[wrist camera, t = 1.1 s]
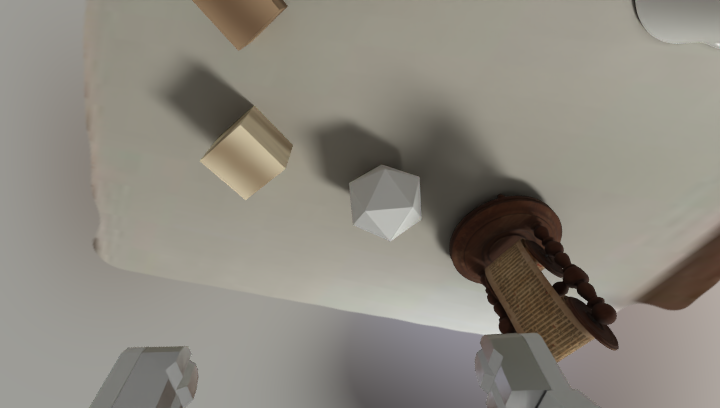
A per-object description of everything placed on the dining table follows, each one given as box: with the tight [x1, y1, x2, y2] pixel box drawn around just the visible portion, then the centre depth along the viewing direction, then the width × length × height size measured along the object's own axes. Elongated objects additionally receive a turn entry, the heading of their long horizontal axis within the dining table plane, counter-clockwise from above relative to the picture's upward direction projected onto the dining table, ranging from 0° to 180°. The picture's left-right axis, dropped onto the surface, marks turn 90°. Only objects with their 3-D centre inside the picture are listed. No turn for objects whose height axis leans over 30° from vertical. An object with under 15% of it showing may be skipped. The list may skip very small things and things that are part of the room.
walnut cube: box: [192, 0, 287, 51], centre depth 30 cm, size 5×5×5 cm
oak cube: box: [200, 106, 293, 200], centre depth 38 cm, size 6×6×6 cm
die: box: [349, 164, 422, 241], centre depth 41 cm, size 8×9×10 cm
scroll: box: [449, 194, 618, 362], centre depth 41 cm, size 15×15×20 cm
